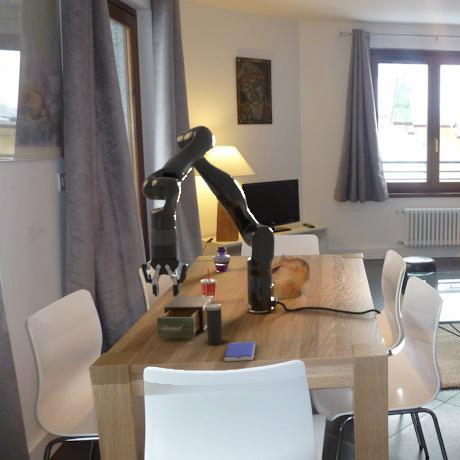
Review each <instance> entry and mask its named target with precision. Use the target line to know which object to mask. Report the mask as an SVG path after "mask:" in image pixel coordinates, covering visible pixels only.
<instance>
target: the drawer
mask: <svg viewBox="0 0 460 460" xmlns="http://www.w3.org/2000/svg"><path fill="white" fill-rule="evenodd" d="M156 327H157V329H156V331H157V339H195V338H196V333H198V332H197V331H198V329H199V328H200V327H201V315H200V310H169V311H168V312H166V313H164V314H163V315H162V316H157V317H156Z"/></svg>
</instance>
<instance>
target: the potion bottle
mask: <svg viewBox="0 0 460 460" xmlns="http://www.w3.org/2000/svg"><path fill="white" fill-rule="evenodd" d="M226 252H227V248H226V246H225V245H218V246H217V248H216V253H218V254H216V255H212V260H213V264H214V266H215V269H216V270H215V271H216V272H218V273H225V272H228V270H229V269H228V268H229V264H230V260H231V255H229V254H225V253H226Z"/></svg>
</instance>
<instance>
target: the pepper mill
mask: <svg viewBox="0 0 460 460" xmlns="http://www.w3.org/2000/svg"><path fill="white" fill-rule="evenodd" d="M222 321H223V320H222V304H220V303H214V304H209V305H207V329H206V330H207V344H208V345H210V346H216V345H221V344H222V343H223V326H222V325H223V324H222Z"/></svg>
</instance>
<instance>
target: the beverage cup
mask: <svg viewBox="0 0 460 460" xmlns="http://www.w3.org/2000/svg"><path fill="white" fill-rule="evenodd" d="M217 282H218V280H217V279H216V278H210V268H209V267H207V278H202V279H200V284H201V285H200V286H201V294H202V295H201V296H214V304H216V300H217V299H216V297H217V296H216V295H217Z"/></svg>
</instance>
